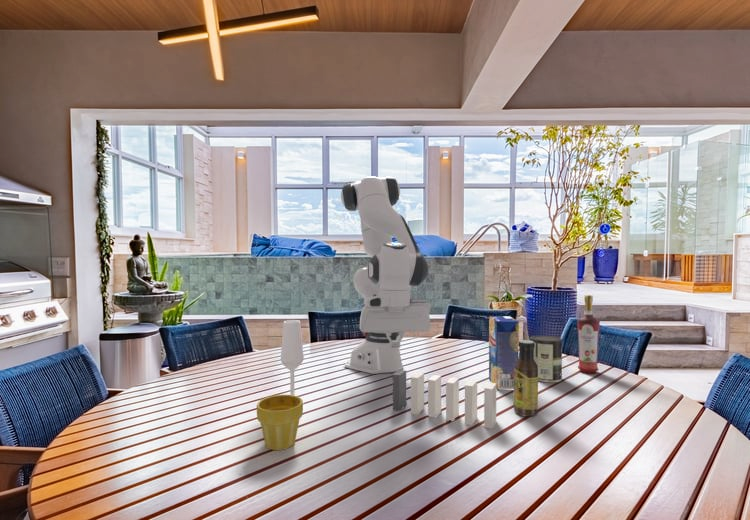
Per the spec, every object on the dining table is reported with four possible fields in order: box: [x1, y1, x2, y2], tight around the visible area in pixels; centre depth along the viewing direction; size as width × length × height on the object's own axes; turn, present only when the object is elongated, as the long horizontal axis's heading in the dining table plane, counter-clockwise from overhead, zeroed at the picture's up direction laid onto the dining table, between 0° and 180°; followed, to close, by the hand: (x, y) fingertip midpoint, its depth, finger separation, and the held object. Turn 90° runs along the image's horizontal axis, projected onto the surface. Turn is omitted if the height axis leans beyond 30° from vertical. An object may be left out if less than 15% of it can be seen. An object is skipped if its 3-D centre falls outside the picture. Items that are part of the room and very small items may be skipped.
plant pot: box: [256, 394, 304, 451], centre depth 96 cm, size 10×10×10 cm
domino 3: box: [427, 374, 442, 419], centre depth 114 cm, size 2×5×10 cm, turn 153°
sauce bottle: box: [513, 339, 539, 417], centre depth 114 cm, size 6×6×20 cm
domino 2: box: [410, 372, 425, 415], centre depth 116 cm, size 2×5×10 cm, turn 153°
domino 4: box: [445, 376, 460, 422], centre depth 112 cm, size 2×5×10 cm, turn 153°
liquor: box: [577, 294, 601, 375], centre depth 153 cm, size 7×7×28 cm
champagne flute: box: [280, 319, 305, 404], centre depth 122 cm, size 7×7×24 cm
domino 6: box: [483, 382, 497, 430], centre depth 107 cm, size 2×5×10 cm, turn 153°
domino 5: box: [464, 379, 478, 426], centre depth 109 cm, size 2×5×10 cm, turn 153°
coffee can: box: [530, 334, 563, 384], centre depth 145 cm, size 10×10×14 cm
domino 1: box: [392, 369, 407, 412], centre depth 119 cm, size 2×5×10 cm, turn 153°
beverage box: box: [488, 315, 520, 389], centre depth 138 cm, size 7×11×22 cm, turn 177°
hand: (394, 347), depth 120 cm, fingers closed
